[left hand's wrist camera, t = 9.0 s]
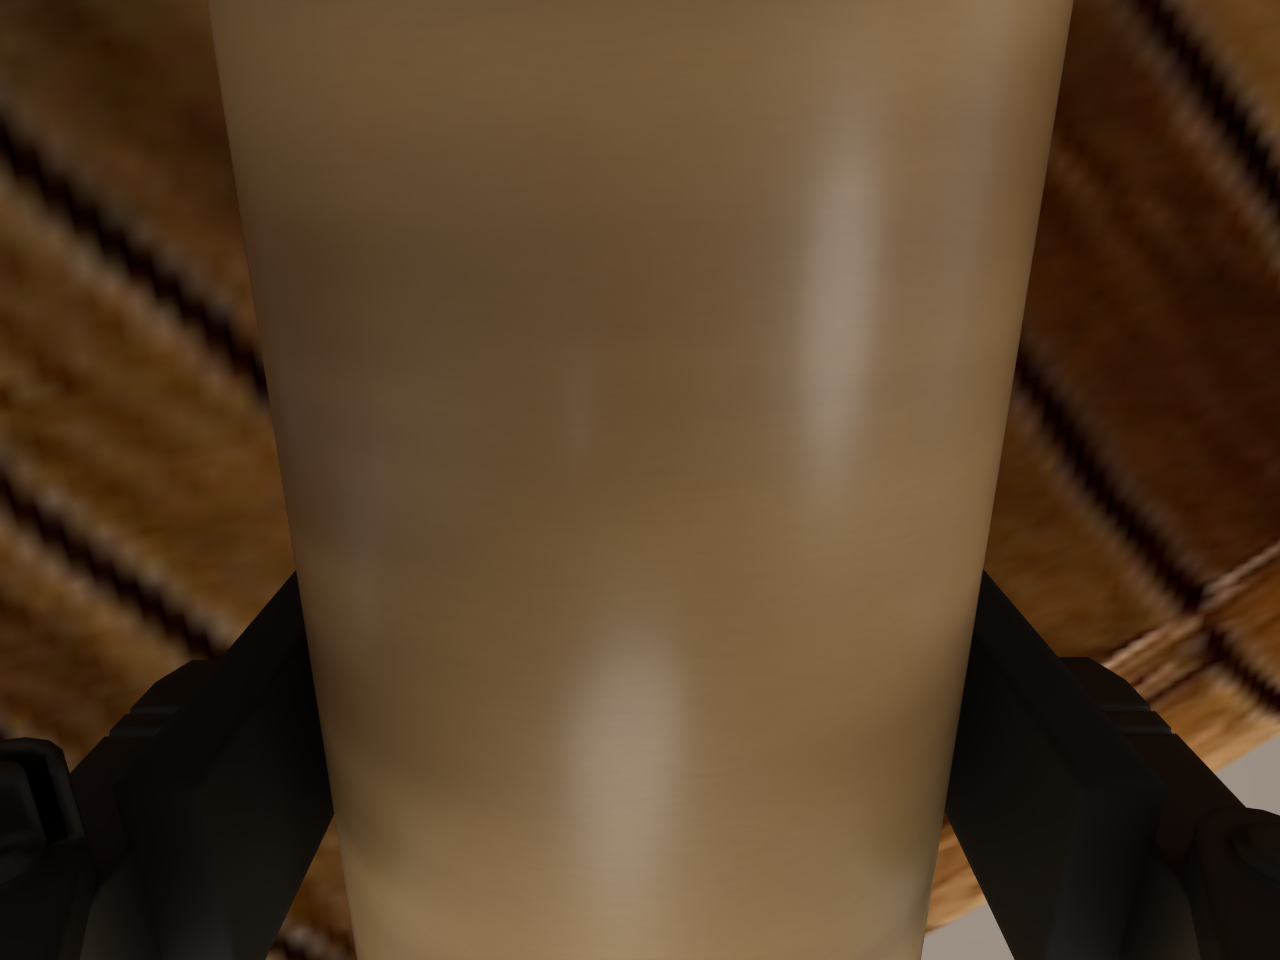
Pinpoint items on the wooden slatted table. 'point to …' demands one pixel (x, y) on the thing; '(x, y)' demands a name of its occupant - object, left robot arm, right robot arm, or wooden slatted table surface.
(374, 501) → the tan wooden cylinder
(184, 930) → the left robot arm
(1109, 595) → the wooden slatted table surface
